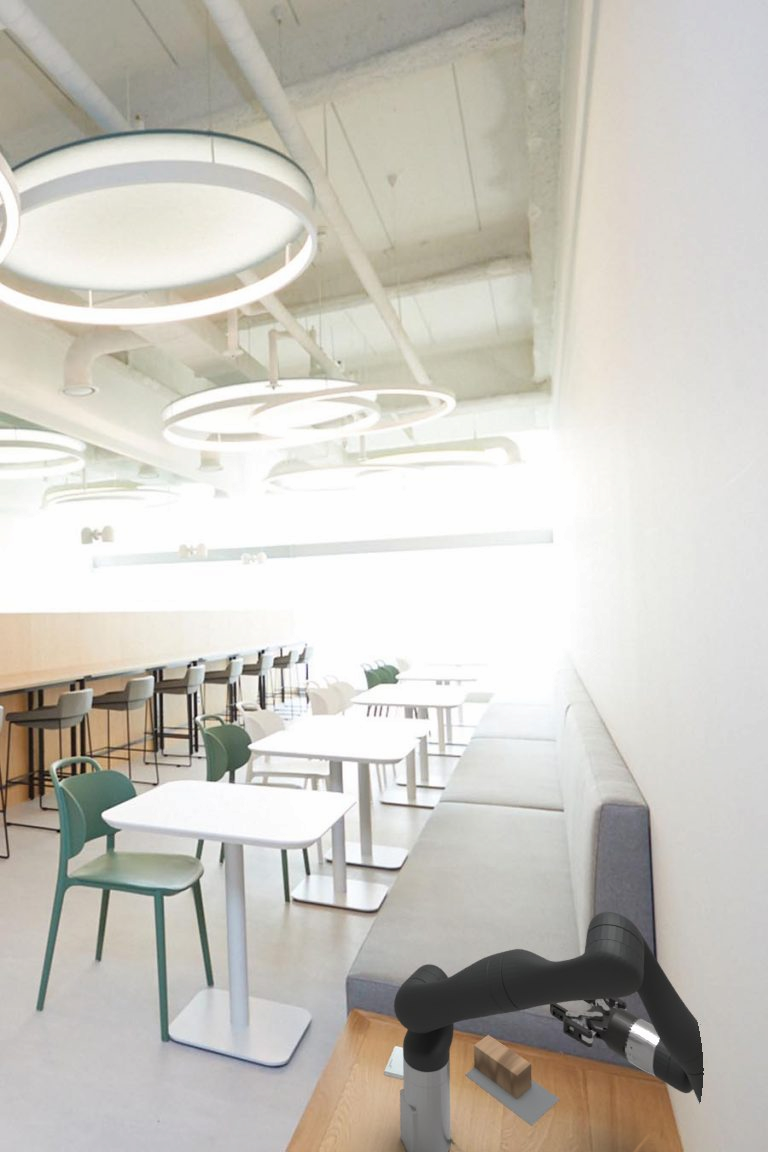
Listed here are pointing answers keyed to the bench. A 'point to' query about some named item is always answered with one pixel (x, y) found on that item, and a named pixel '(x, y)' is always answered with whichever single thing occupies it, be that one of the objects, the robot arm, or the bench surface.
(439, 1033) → the robot arm
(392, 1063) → the hard drive
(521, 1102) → the rubber mat
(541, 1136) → the bench surface
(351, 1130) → the bench surface
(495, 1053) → the light brown wooden block
